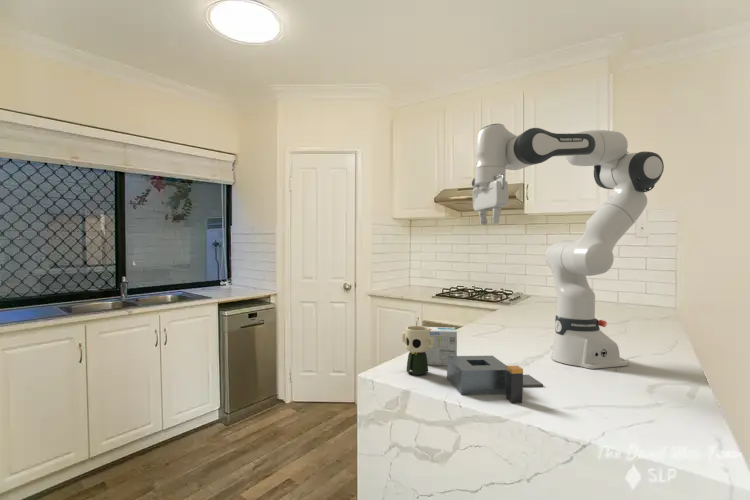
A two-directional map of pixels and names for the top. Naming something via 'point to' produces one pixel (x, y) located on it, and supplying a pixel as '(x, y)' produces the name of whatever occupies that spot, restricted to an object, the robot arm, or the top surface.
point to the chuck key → (514, 384)
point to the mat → (531, 382)
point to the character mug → (417, 348)
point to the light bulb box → (442, 345)
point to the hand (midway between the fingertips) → (489, 224)
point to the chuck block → (477, 374)
